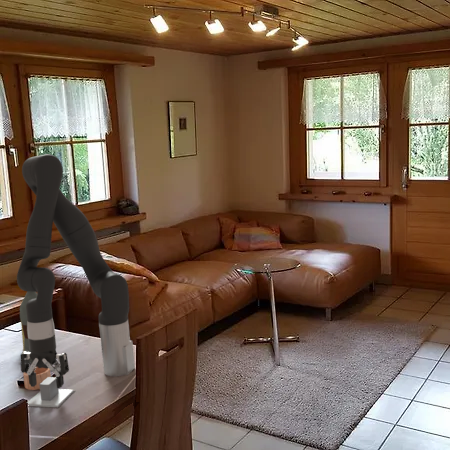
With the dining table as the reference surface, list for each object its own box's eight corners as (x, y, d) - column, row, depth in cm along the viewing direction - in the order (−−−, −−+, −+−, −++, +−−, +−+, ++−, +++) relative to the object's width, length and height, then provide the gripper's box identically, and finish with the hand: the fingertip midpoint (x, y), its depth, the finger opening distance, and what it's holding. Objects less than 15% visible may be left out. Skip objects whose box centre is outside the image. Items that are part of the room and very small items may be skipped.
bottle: (51, 362, 203) (41, 278, 198) (23, 366, 201) (13, 281, 196) (53, 352, 212) (44, 271, 207) (27, 355, 210) (16, 274, 205)
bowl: (56, 380, 188) (54, 365, 187) (43, 391, 180) (41, 376, 180) (33, 379, 190) (31, 364, 189) (20, 390, 182) (18, 375, 181)
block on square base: (73, 391, 178) (71, 374, 177) (57, 407, 169) (55, 388, 168) (43, 390, 180) (41, 373, 179) (26, 405, 171) (23, 387, 170)
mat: (76, 392, 179) (75, 390, 179) (58, 409, 168) (58, 408, 168) (43, 390, 181) (42, 389, 181) (23, 407, 170) (23, 406, 170)
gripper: (69, 330, 173) (74, 382, 176) (26, 328, 177) (32, 379, 179) (57, 339, 166) (62, 393, 169) (12, 337, 169) (18, 390, 172)
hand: (46, 386), depth 174 cm, fingers open, 8 cm apart
